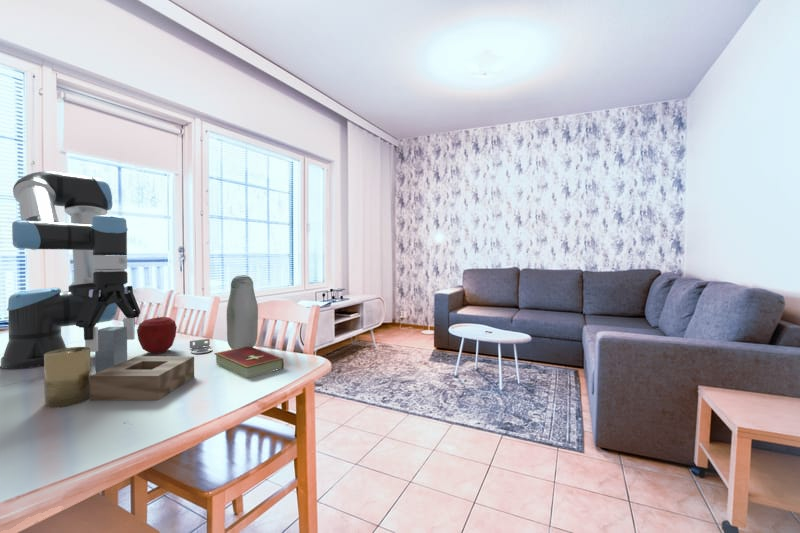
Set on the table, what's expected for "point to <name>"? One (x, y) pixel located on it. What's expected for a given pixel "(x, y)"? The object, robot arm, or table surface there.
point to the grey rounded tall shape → (242, 313)
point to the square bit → (111, 347)
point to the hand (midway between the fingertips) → (111, 345)
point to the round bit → (67, 376)
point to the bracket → (200, 344)
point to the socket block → (142, 378)
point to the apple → (157, 334)
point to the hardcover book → (248, 361)
